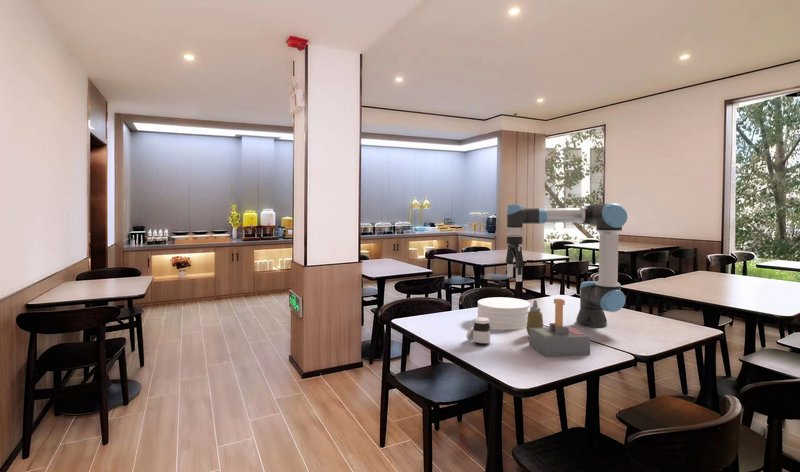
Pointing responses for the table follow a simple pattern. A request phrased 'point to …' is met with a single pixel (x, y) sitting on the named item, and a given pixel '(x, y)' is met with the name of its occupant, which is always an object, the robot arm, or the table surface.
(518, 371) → the table surface
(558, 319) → the breaker lever
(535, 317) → the squeeze bottle
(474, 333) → the spread jar
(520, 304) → the plate stack
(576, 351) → the switch block
